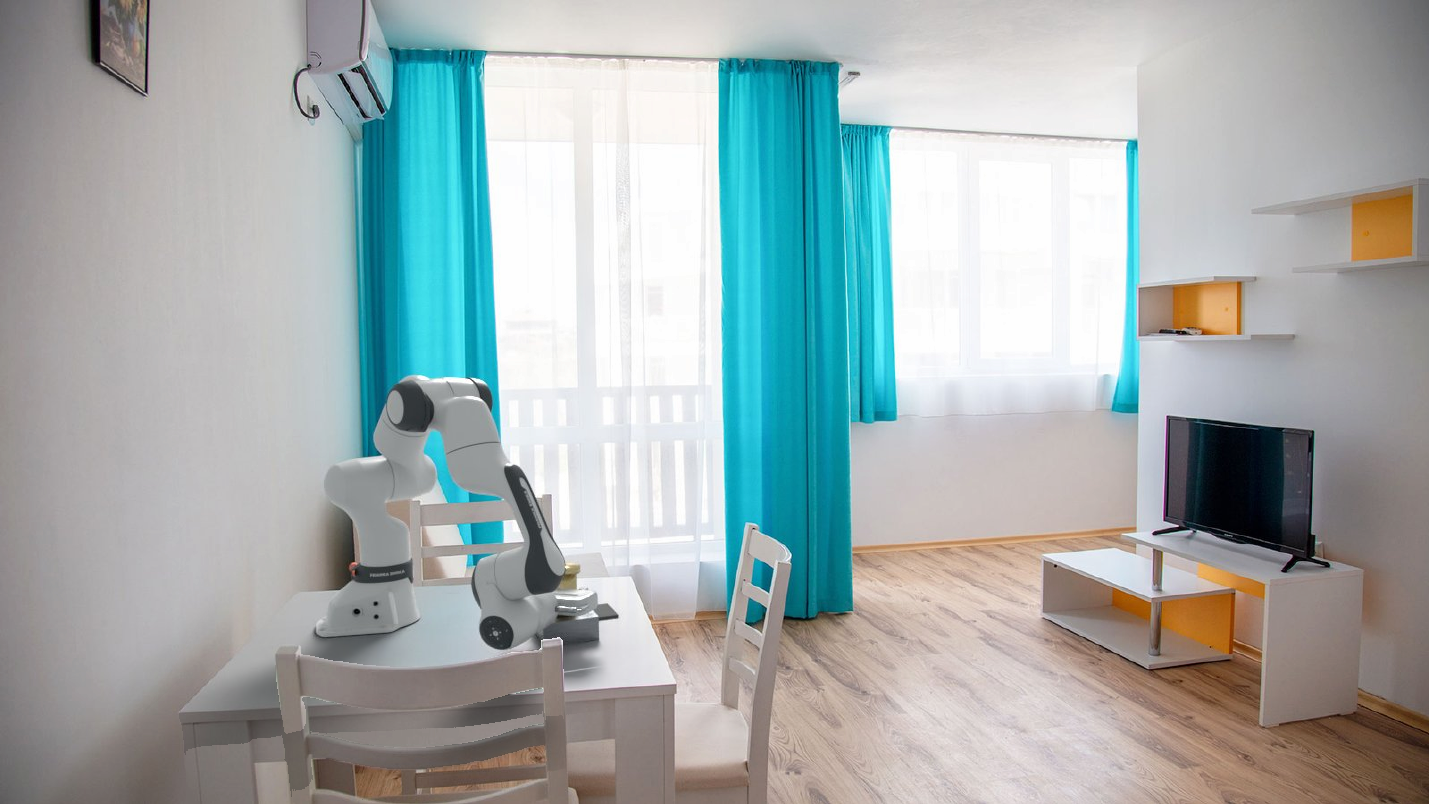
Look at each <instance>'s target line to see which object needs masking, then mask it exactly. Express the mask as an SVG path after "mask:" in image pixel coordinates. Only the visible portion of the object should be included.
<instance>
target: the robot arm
mask: <svg viewBox="0 0 1429 804" xmlns="http://www.w3.org/2000/svg"><path fill="white" fill-rule="evenodd" d="M493 405H494V399H493V394H492V391H491V389H490V388H489V386H488V384H487V383H486V382H485V381H483V380H481V379H478V378H474V377H467V376H466V377H463V378H462V377H451V376H450V377H448V376H445V377H437V378H429V377H426V376H424V375H419V374H412V375H407V376H405V377H403V378H402V379H401V380H400V381H398V383H395V384H394V385H393V386H392V387H390V389H389V392H388V393H387V396H386V402H385V404H384V406H383V409H382V412H381V413H380V417H379V419H378V422H377V423H376V427H375V430H374V432H373V439H372V440H373V443H374V446H375V448H376V450H377V451H378V452H379V453H380V454H381V455H377V456H368V457H367V456H366V457H359V458H358V457H357V458H352V459H347V460H344V461H341V462H338V463H334V464H333V465H331V466H330V467H329V468H328V470H327V471H326V474H325V476H324V480H323V489H324V492H325V495H326V497H327V499H328V500H329V501H330V502H331V503H332V504H333V505H334V506H336V507H338V508H340V509H341V510H343V511H344V512H345V513H346V514H347V515H348V517H349V518H350V519H351V520H352V522H353V524H354V526H355V529H356V531H357V532H356V533H357V538H358V546H359V547H358V548H359V561H360V562H359V563H357V562H356V561H355V562H351V563H350V564H349V568H348V570H349V571H350V576H351V577H350V578H351V581H349V582H348V583H346V584H345V586H344V587H341V589H340V590H338V591H337V592H336V593H335V594H333V596H332V597H331V598H330V600H329V601H328V603H327V606H326V610H325V616H324V617H322V618H320V619H319V620H318V621H317V622H316V624H315V632H316V635H318V636H319V637H321V638H332V637H345V636H357V635H368V634H369V635H370V634H371V635H372V634H383V633H392V632H395V631H396V630H398V629H400V628H402V627H405V626H409V625H411V624H414V623H415V622H417V621H418V620H419V619H420V618H421V614H420V611H419V608H418V604H417V600H416V596H415V590H414V584H413V583H414V579H415V567H414V561H413V558H412V555H411V554H412V553H411V533H410V531H411V530H410V529H409V526H408V524H407V523H406V522H405V521H403V520H401V519H400V518H397V517H395V516H392V515H390V514H389V513H388V511H387V503H392V502H400V501H404V500H405V501H406V500H412V499H415V498H417V497H418V498H419V497H421V496H423V495H426V494H429V493H430V492H432V490H433V489H434V488H435V486H436V483H437V480H438V471H437V467H436V464H435V462H434V461H433V460H432V458H431V457H430V456H429V455H427V454H425V453H424V451H425V448H426V447H425V446H426V444H427V442H428V439H429V436H430V434H431V432H438V433H439V434H440V436H441V439H442V443H443V444H442V445H443V450H444V456H445V461H446V465H447V469H448V472H449V476H450V477H451V480H452V482H453V483H454V484H456V486H458V487H459V488H460V489H462V490H464V491H466V492H468V493H472V494H477V495H485V496H492V497H498V498H499V499H502V500H504V501H505V502H506V503H507V504H508V505H509V507H510V509H511V511H512V515H513V516H514V519H515V521H516V524H517V526H518V529H519V531H520V534H521V537H522V539H523V545H522V546H519V547H516V548H513V549H509V550H505V551H501V552H497V553H494V554H492V555H489V556H485V557H482V558H480V559H479V560H478V561H477V563H476V565H475V567H474V569H473V571H472V575H471V580H470V581H471V583H470V584H471V586H470V587H471V590H472V594H473V595H472V596H473V598H474V601H475V602H476V603H477V605H478V607H479V609H480V610H481V613H480V618H479V621H478V632H479V635H480V638H481V640H482V641H483V642H484V643H485V644H486V645H487V646H488V647H490V648H491V649H494V650H497V651H498V650H499V651H507V650H512V649H514V648H516V647H519V646H520V645H522V644H524V643H526V642H527V641H528V640H530V639H532V638H533V636H534V635H536V633H538V632H540V631H542V630H543V629H544V628H546V627H547V626H549V625H550V624H552V623H553V622H554V621H555V619H556V618H557V615H567V616H581V615H584V614H587V613H589V612H591V611H593V610H594V609H596V608H597V606H598V604H599V603H598V602H599V598H598V593H597V591H595V590H591V589H589V588H588V587H584V586H583V587H579V588H577V589H563V588H557V587H558V586H559V585H560V583H561V581H562V579H563V577H564V575H565V571H566V564H565V563H566V561H565V558H564V555H563V553H562V550H561V549H560V547H559V546H558V544H557V543H556V541H555V539H554V537H553V536H552V534H551V530H550V528H549V526H548V524H547V521H546V519H545V516H544V514H543V511H542V509H541V506H540V504H539V502H538V500H537V498H536V495H535V493H534V490H533V487H532V486H531V483H530V481H529V479H528V477H527V475H526V474H525V472H524V471H523V469H522V468H521V467H520V466H519V465H517V464H514V463H512V462H511V461H510V460H509V459H508V458H507V456H506V453H505V452H504V450H503V446H502V443H501V439H500V434H499V431H498V429H497V425H496V422H495V419H494V418H493V414H492V411H493Z"/></svg>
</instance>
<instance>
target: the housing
mask: <svg viewBox="0 0 1429 804" xmlns="http://www.w3.org/2000/svg"><path fill="white" fill-rule="evenodd" d="M599 623H600V620H599V616H598V615H597V614H596V613H595V612H594V611H591V612H589V613H587V614H584V615H581V616H567V617H560V618H556V619H555V621H554V622H553V623H552V624H550V625H549V626H547V627H546V628H544V629H543V630H542V631H540V632H538V633H536V634H535V635H536V637H537V639H538V641H539V642H540V643H541V640H543V639H552V638H557V637H560V638H561V639H562V640H563V644H564V645H568V644H569V645H570V644H578V643H584V642H589V641H596V640H597V641H598V640H600V624H599Z"/></svg>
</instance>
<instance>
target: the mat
mask: <svg viewBox="0 0 1429 804" xmlns="http://www.w3.org/2000/svg"><path fill="white" fill-rule="evenodd" d="M593 611H594V612H595V613H596V614H597V615H598V616H599V621H601V620H608V619H616V618H619V616H620V615H619V614H618V612H616V610H615V609H613V607H612V606H610V604H609V603H605V602H604V603H598V606H597V608H596V609H594V610H593Z"/></svg>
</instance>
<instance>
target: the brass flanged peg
mask: <svg viewBox="0 0 1429 804" xmlns="http://www.w3.org/2000/svg"><path fill="white" fill-rule="evenodd" d="M565 564H566V571H565V575H564V577H563V579H562V581H561V583H560V585H559V586H558V587H557V588H563V589H577V590H578V585H577V584H578V581H577V580H578V579H577V578H578V576H577V575H578V574H580V573H581V565H580V564H578V563H575V562H565ZM560 617H567V615H557V618H560Z"/></svg>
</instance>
